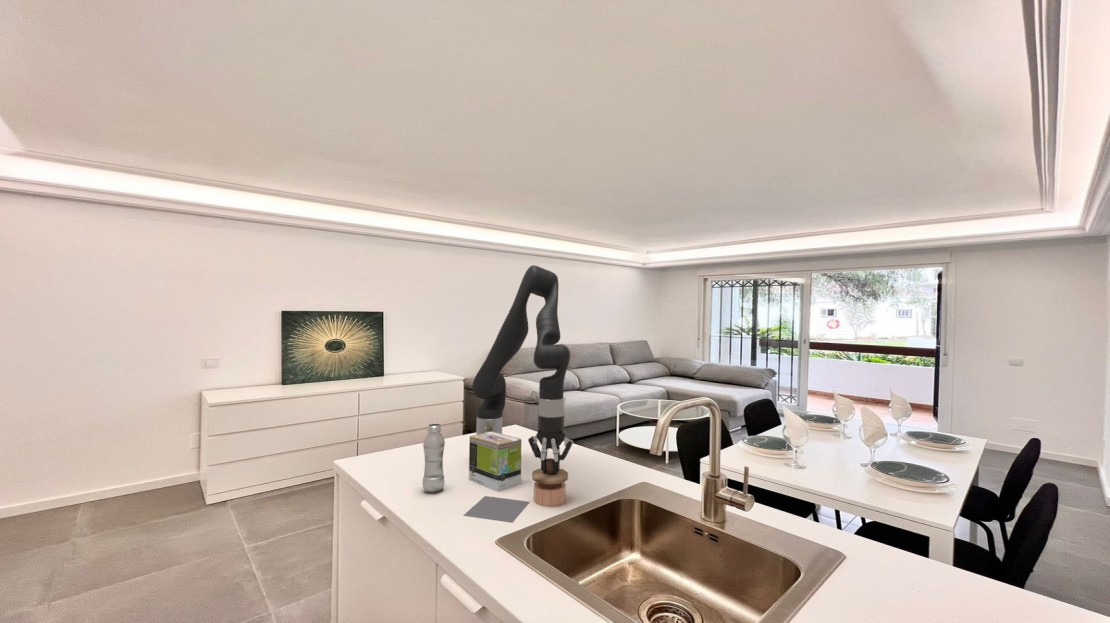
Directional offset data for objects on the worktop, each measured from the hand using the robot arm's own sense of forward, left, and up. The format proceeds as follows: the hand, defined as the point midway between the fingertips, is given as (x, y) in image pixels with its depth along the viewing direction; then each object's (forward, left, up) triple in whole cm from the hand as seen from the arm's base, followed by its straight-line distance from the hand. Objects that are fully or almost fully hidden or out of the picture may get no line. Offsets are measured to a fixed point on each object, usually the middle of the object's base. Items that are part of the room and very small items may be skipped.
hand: (550, 472), depth 136 cm
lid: (0, 0, -1) cm, 1 cm away
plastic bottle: (-36, -3, -8) cm, 37 cm away
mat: (-12, -10, -8) cm, 18 cm away
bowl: (0, 0, -8) cm, 8 cm away
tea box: (-21, +9, -8) cm, 24 cm away
